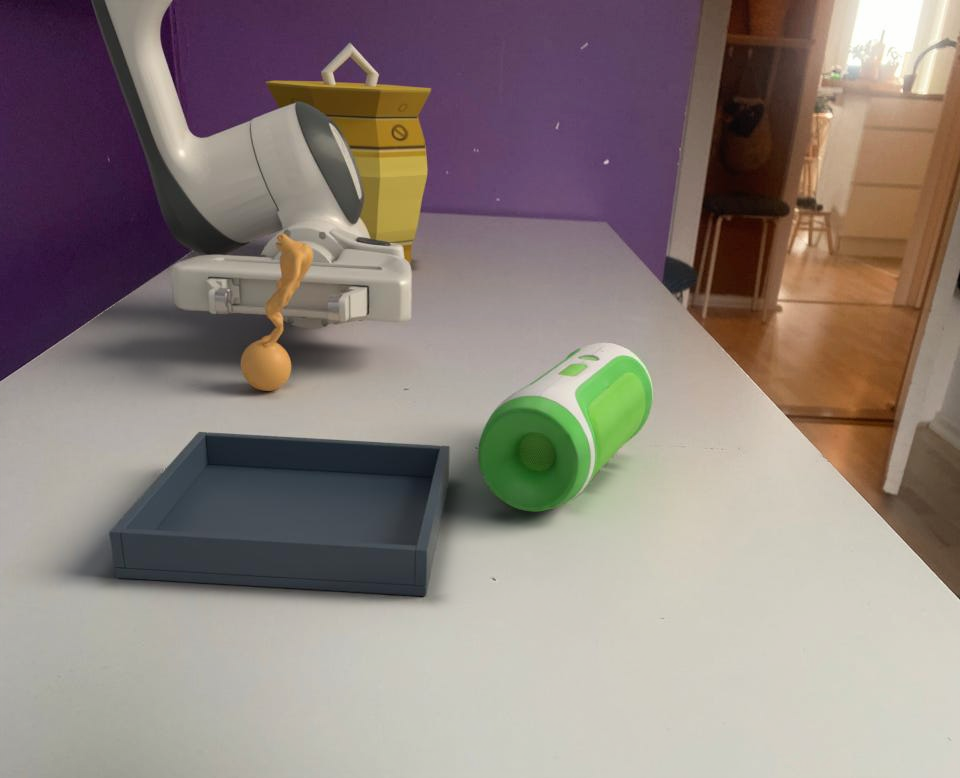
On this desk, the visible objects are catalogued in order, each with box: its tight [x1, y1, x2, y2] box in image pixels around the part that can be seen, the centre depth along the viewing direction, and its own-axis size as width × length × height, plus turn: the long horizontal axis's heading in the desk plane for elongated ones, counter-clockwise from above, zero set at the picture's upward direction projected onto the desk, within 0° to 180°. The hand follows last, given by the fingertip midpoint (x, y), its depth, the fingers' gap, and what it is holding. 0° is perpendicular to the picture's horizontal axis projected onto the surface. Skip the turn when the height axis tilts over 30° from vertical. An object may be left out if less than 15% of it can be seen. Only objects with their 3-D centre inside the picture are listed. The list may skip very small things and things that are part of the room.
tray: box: [108, 431, 451, 597], centre depth 60 cm, size 16×16×3 cm
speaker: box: [477, 342, 654, 512], centre depth 68 cm, size 18×7×8 cm, turn 157°
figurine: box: [240, 234, 313, 392], centre depth 81 cm, size 8×6×12 cm
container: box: [264, 42, 432, 266], centre depth 130 cm, size 21×21×25 cm
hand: (276, 307), depth 82 cm, fingers open, 8 cm apart
